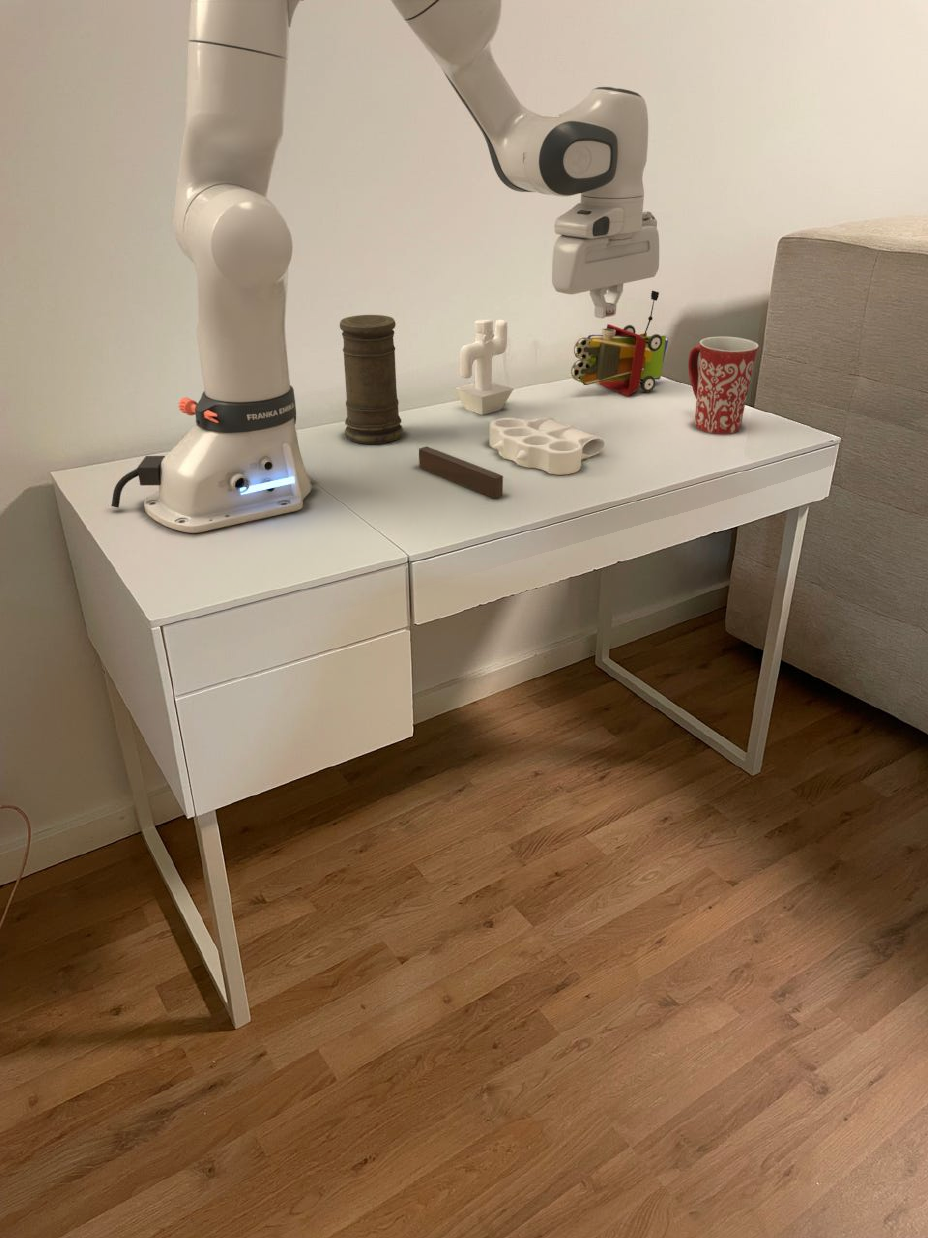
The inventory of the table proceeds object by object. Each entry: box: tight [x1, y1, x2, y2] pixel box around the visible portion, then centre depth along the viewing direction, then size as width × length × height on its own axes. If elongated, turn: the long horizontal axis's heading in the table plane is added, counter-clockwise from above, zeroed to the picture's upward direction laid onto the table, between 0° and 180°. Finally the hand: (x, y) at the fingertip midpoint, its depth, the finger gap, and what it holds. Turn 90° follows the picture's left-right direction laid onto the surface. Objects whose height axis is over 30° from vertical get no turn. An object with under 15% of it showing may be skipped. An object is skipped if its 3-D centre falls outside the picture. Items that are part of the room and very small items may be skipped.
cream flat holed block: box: [488, 417, 606, 476], centre depth 146 cm, size 3×18×15 cm
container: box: [339, 314, 404, 445], centre depth 150 cm, size 9×9×18 cm
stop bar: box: [418, 445, 504, 500], centre depth 136 cm, size 2×16×3 cm, turn 42°
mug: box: [687, 336, 760, 435], centre depth 155 cm, size 13×9×14 cm
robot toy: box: [570, 290, 669, 397], centre depth 172 cm, size 17×9×20 cm
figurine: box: [453, 318, 514, 416], centre depth 162 cm, size 7×9×15 cm
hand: (604, 316), depth 145 cm, fingers closed
